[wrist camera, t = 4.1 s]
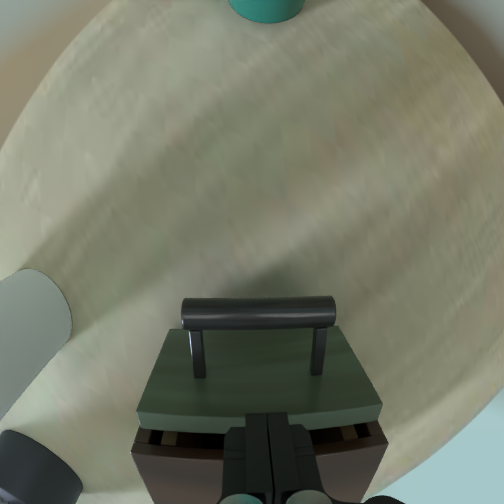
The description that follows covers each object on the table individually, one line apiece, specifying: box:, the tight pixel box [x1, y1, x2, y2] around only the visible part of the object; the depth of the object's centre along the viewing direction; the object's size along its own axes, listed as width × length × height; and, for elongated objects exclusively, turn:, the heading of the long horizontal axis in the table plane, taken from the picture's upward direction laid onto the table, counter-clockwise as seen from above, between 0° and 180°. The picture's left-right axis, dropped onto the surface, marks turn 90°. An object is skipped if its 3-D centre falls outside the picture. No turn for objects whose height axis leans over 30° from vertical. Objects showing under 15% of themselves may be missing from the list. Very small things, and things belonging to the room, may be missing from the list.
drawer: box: [136, 296, 383, 449], centre depth 17 cm, size 18×11×8 cm, turn 0°
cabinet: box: [131, 420, 388, 504], centre depth 19 cm, size 15×13×10 cm
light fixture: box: [0, 431, 82, 504], centre depth 19 cm, size 13×16×14 cm
